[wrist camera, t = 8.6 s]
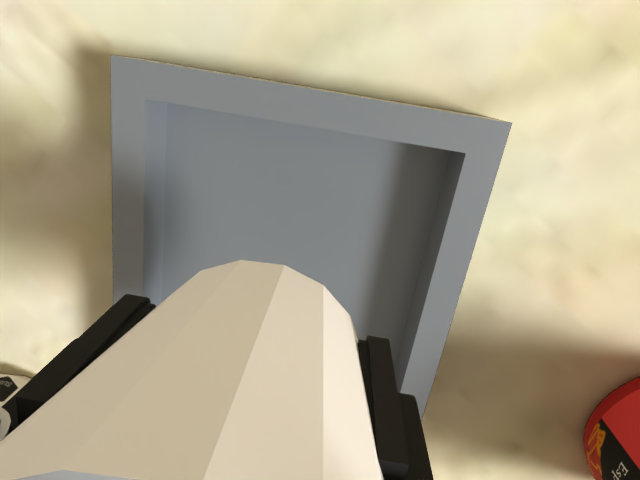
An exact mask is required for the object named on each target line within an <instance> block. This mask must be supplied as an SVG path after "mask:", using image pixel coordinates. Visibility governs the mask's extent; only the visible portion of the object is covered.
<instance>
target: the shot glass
mask: <svg viewBox="0 0 640 480" xmlns="http://www.w3.org/2000/svg"><path fill="white" fill-rule="evenodd" d="M0 480H384V477H383V474H382V471H381V468H380V465H379V462H378V456H377V450H376V444H375V439H374V433H373V428H372V423H371V418H370V412H369V407H368V402H367V397H366V392H365V386H364V381H363V376H362V371H361V365H360V358H359V351H358V339H357V336H356V333H355V330H354V326H353V323H352V320H351V317H350V315H349V314H348V313H347V311H346V310H345V309H344V308H343V307H342V306H341V305H340V303H339V302H338V301H337V300H336V299H335V298H334V297H333V295H332V294H331V293H330V292H329V291H328V290H327V289H326V287H325V286H324V285H322V284H320V283H318V282H317V281H315V280H313V279H311V278H309V277H307V276H305V275H303V274H301V273H299V272H297V271H295V270H293V269H291V268H289V267H288V266H286V265H280V264H272V263H263V262H255V261H247V260H239V261H235V262H231V263H227V264H223V265H220V266H216V267H212V268H208V269H204V270H201V271H200V272H198V273H197V274H196V275H195V276H193V277H192V278H191V279H190V280H188V281H187V282H186V283H185V284H183V285H182V286H181V287H180V288H178V289H177V290H176V291H175V292H173V293H172V294H171V295H170V296H169V297H167V298H166V299H165V300H164V301H163V302H162V303H161V304H159V305H158V306H157V307H156V308H155V309H154V310H152V311H151V312H150V313H149V314H148V315H147V316H145V317H144V318H143V319H142V320H141V321H140V322H139V323H137V324H136V325H135V326H134V327H133V328H132V329H130V330H129V331H128V332H127V333H126V334H125V335H123V336H122V337H121V338H120V339H119V340H118V341H117V342H115V343H114V344H113V345H112V346H111V347H110V348H108V349H107V350H106V351H105V352H104V353H103V354H101V355H100V356H99V357H98V358H97V359H96V360H95V361H93V362H92V363H91V364H90V365H89V366H88V367H86V368H85V369H84V370H83V371H82V372H81V373H79V374H78V375H77V376H76V377H75V378H74V379H73V380H71V381H70V382H69V383H68V384H67V385H66V386H64V387H63V388H62V389H61V390H60V391H59V392H57V393H56V394H55V395H54V396H53V397H52V398H51V399H49V400H48V401H47V402H46V403H45V404H44V405H42V406H41V407H40V408H39V409H38V410H37V411H35V412H34V413H33V414H32V415H31V416H30V417H29V418H27V419H26V420H25V421H24V422H23V423H22V424H20V425H19V426H18V427H17V428H16V429H15V430H13V431H12V432H11V433H10V434H9V435H8V436H7V437H5V438H4V439H3V440H2V441H1V442H0Z"/></svg>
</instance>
